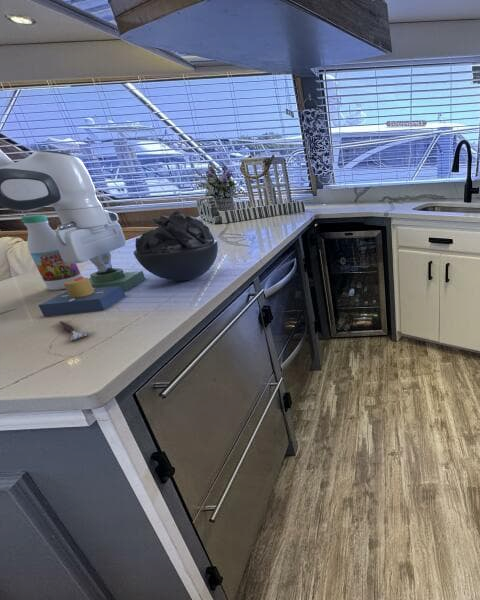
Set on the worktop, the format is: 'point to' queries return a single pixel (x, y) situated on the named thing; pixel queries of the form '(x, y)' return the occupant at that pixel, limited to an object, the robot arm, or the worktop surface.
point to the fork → (72, 331)
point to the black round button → (106, 271)
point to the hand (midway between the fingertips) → (106, 270)
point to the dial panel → (82, 302)
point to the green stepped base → (117, 279)
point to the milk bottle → (48, 253)
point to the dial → (78, 287)
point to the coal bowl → (177, 248)
